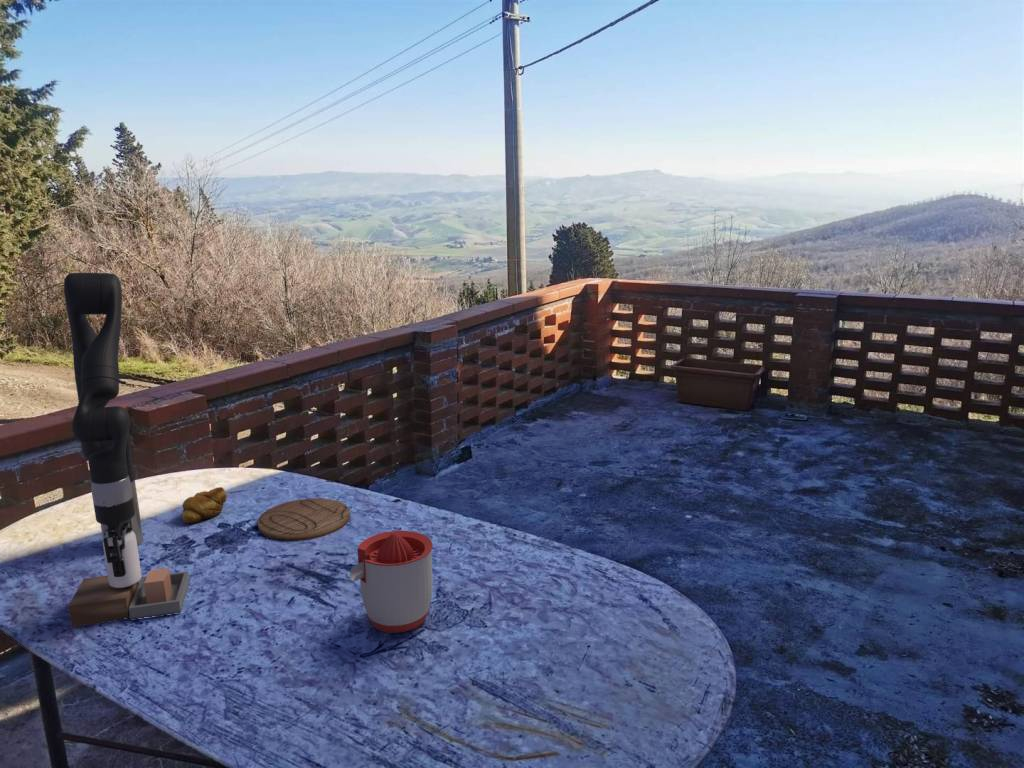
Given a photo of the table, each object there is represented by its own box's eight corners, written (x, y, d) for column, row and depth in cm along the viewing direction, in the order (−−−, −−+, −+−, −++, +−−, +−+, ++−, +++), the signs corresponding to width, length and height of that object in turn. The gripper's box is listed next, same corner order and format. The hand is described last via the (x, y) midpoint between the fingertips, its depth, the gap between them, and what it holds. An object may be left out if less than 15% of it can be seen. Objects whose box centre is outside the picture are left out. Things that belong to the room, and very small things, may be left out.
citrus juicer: (346, 611, 160) (340, 526, 155) (423, 594, 167) (420, 512, 162) (362, 649, 146) (355, 558, 141) (445, 629, 153) (442, 541, 148)
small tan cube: (149, 570, 165) (169, 567, 166) (153, 594, 167) (172, 591, 168) (143, 583, 160) (163, 580, 160) (147, 607, 161) (167, 605, 162)
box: (143, 588, 170) (141, 577, 169) (189, 582, 173) (188, 571, 172) (130, 621, 157) (128, 608, 156) (180, 613, 160) (179, 601, 159)
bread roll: (192, 528, 202) (189, 501, 200) (171, 521, 207) (167, 494, 205) (232, 512, 212) (229, 486, 210) (210, 505, 217) (207, 480, 215)
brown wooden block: (87, 598, 166) (83, 578, 165) (140, 591, 169) (137, 571, 168) (71, 627, 155) (68, 606, 154) (128, 618, 158) (125, 598, 157)
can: (128, 590, 158) (120, 539, 155) (102, 587, 159) (94, 536, 156) (148, 575, 164) (141, 526, 161) (123, 573, 166) (115, 524, 163)
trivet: (311, 497, 223) (311, 491, 222) (369, 517, 209) (368, 511, 208) (239, 526, 203) (238, 520, 203) (297, 550, 189) (296, 543, 189)
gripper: (102, 487, 163) (112, 555, 167) (84, 513, 149) (96, 587, 153) (139, 483, 165) (148, 551, 169) (124, 508, 151) (135, 581, 155)
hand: (123, 568), depth 161 cm, fingers closed on can, 6 cm apart
